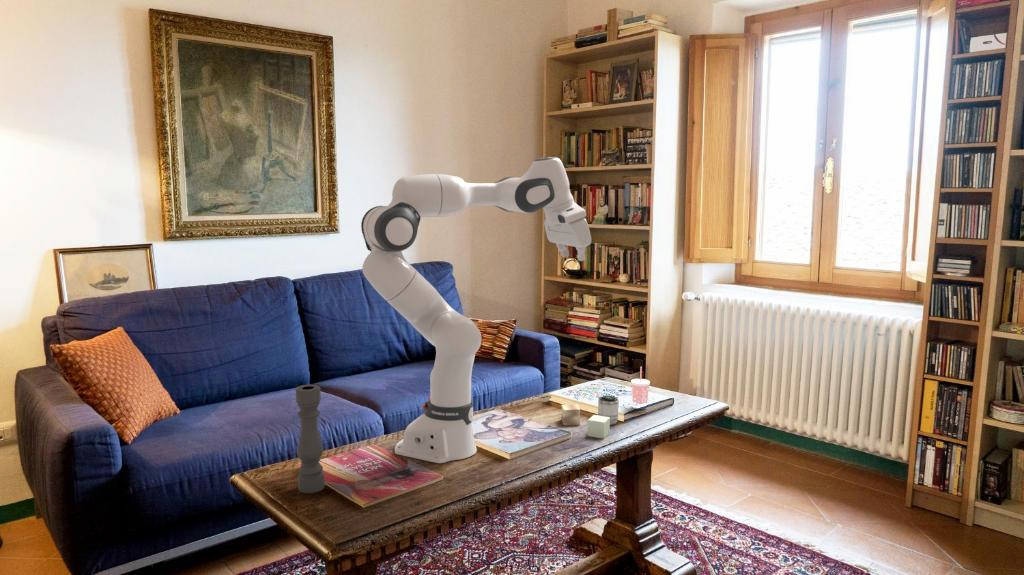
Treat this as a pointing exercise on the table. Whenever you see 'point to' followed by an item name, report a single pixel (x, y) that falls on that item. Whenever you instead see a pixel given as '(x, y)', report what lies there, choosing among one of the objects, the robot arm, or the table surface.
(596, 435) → the sage cube
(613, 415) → the potted succulent
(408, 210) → the robot arm
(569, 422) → the birch cube
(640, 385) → the beverage cup
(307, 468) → the candle holder
